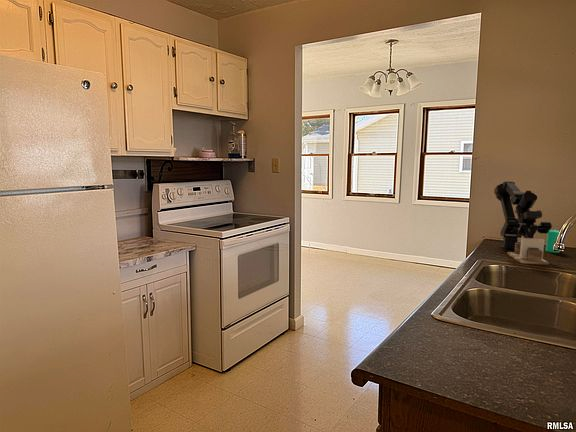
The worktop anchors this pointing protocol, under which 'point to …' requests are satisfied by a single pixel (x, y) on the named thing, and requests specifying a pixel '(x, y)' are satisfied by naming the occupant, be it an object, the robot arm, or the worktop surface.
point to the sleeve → (531, 246)
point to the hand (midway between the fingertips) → (531, 242)
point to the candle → (551, 240)
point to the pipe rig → (532, 257)
